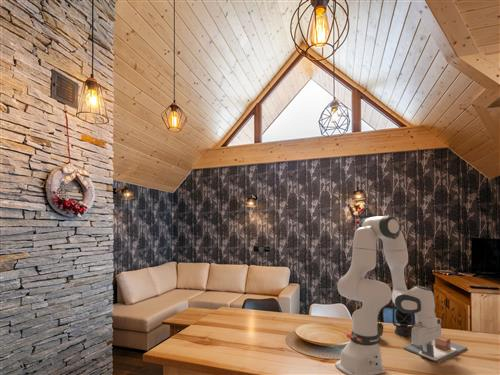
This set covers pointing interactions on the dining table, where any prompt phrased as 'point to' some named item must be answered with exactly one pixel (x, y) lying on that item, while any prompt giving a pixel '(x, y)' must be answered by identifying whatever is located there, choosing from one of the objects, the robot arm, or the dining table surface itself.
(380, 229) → the robot arm
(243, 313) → the dining table surface
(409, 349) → the slate board
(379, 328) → the dark ornate pot
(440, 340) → the rust block
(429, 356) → the white strip
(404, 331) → the lantern
